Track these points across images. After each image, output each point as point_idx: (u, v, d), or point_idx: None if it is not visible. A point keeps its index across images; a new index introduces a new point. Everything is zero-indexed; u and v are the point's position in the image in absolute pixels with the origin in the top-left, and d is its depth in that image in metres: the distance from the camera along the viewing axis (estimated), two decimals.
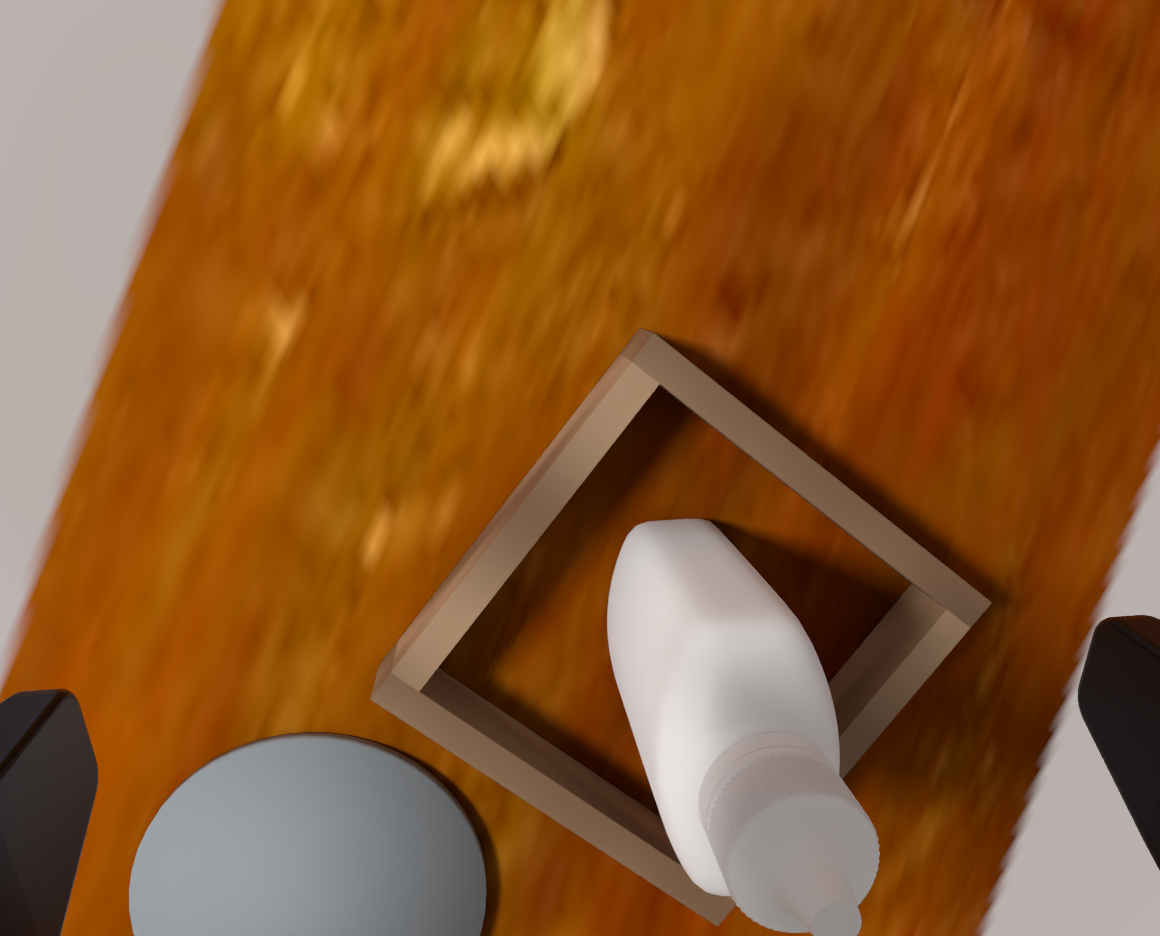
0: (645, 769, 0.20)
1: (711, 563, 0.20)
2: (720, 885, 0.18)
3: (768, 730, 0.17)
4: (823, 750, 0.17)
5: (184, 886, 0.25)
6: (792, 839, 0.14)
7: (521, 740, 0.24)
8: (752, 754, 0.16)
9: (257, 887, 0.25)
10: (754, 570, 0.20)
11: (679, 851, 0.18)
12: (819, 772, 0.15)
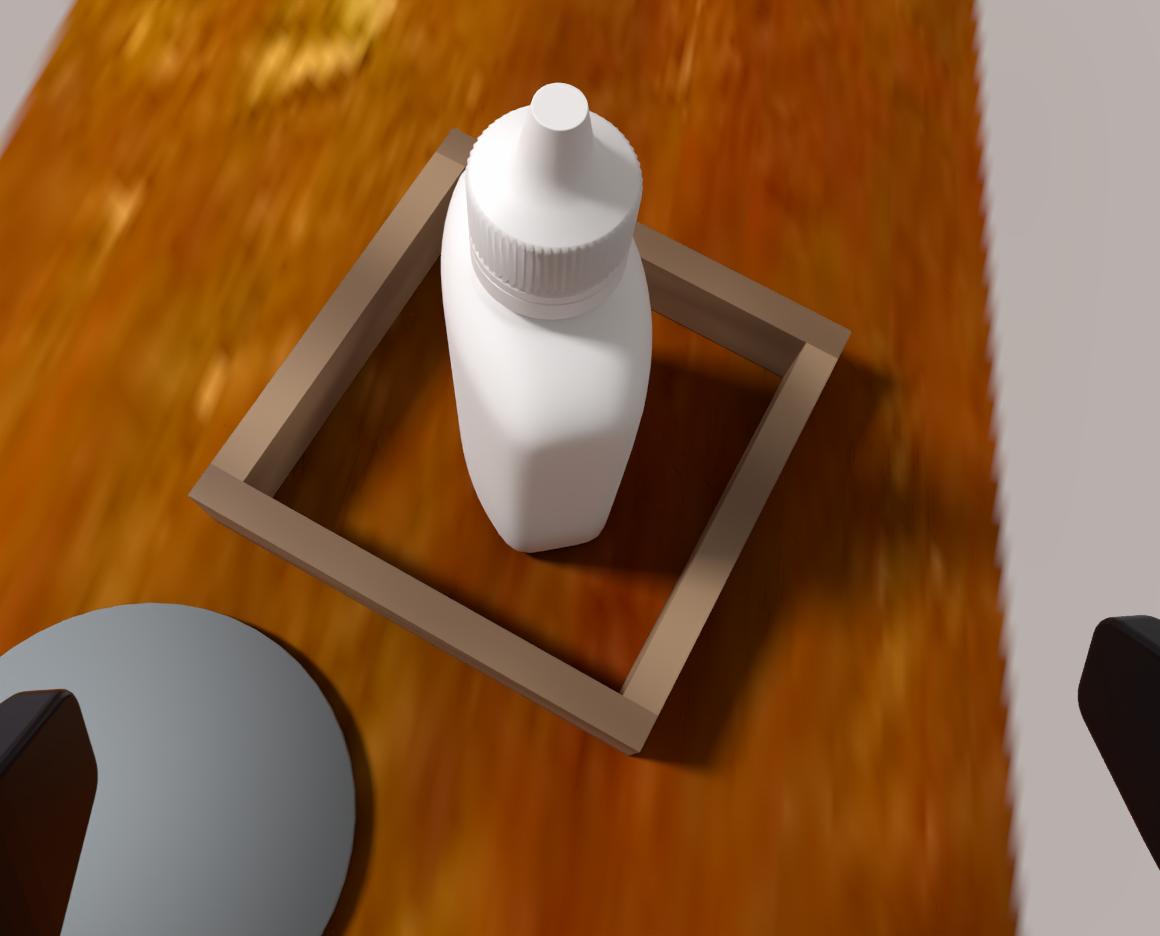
0: (466, 411, 0.18)
1: None
2: (531, 400, 0.15)
3: None
4: None
5: None
6: None
7: None
8: None
9: None
10: None
11: (481, 383, 0.15)
12: None
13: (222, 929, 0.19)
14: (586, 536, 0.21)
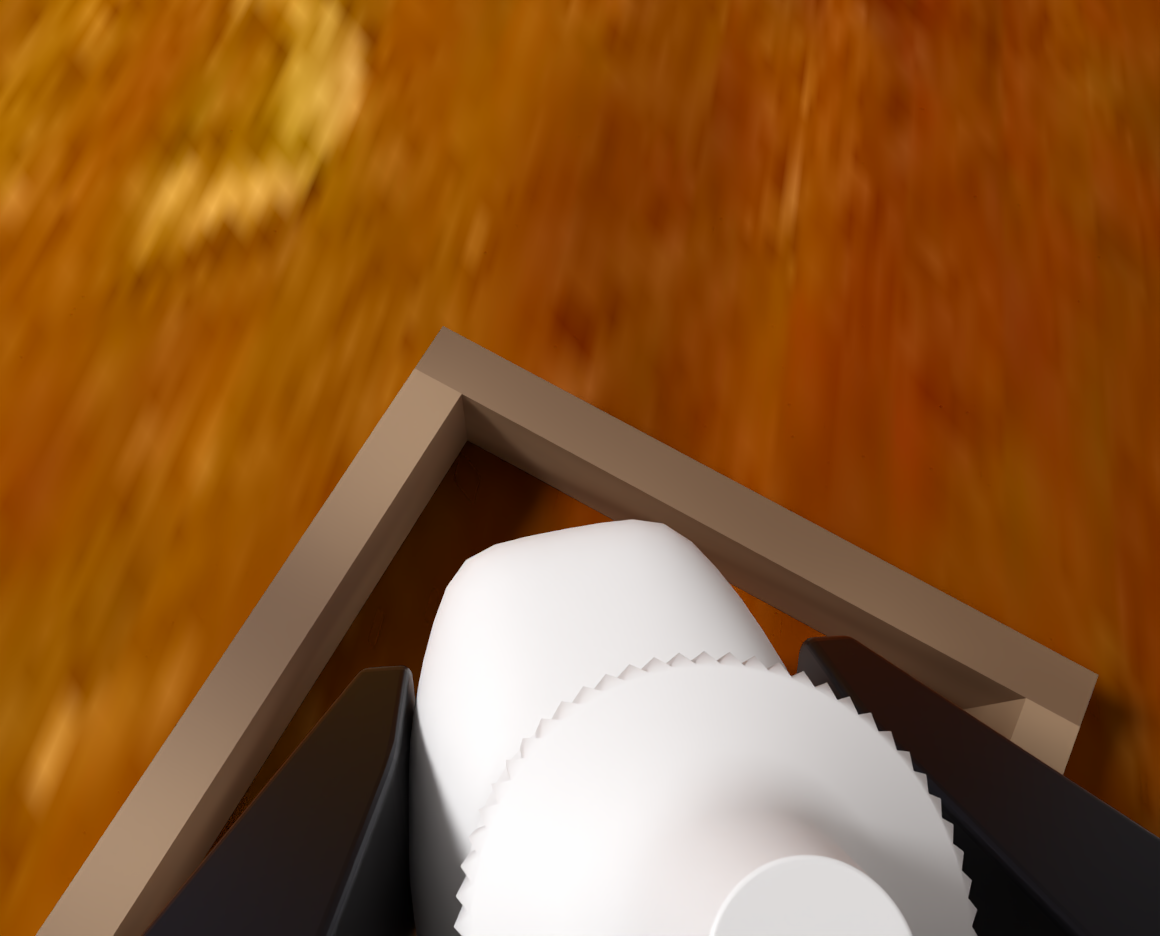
0: None
1: None
2: None
3: None
4: None
5: None
6: (640, 787, 0.04)
7: None
8: None
9: None
10: None
11: None
12: None
13: None
14: None
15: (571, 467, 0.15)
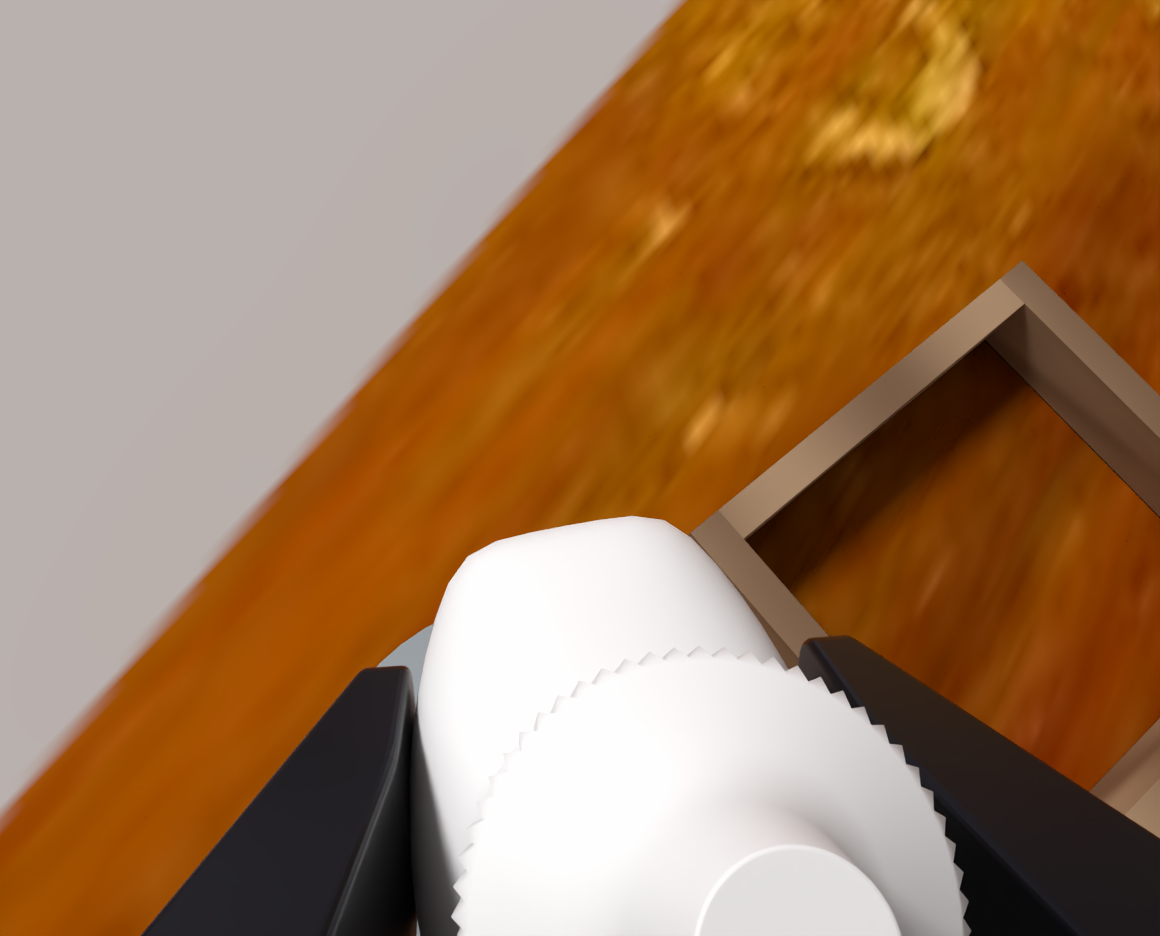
0: None
1: None
2: None
3: None
4: None
5: None
6: (635, 779, 0.04)
7: None
8: None
9: None
10: None
11: None
12: None
13: None
14: None
15: (1068, 372, 0.23)
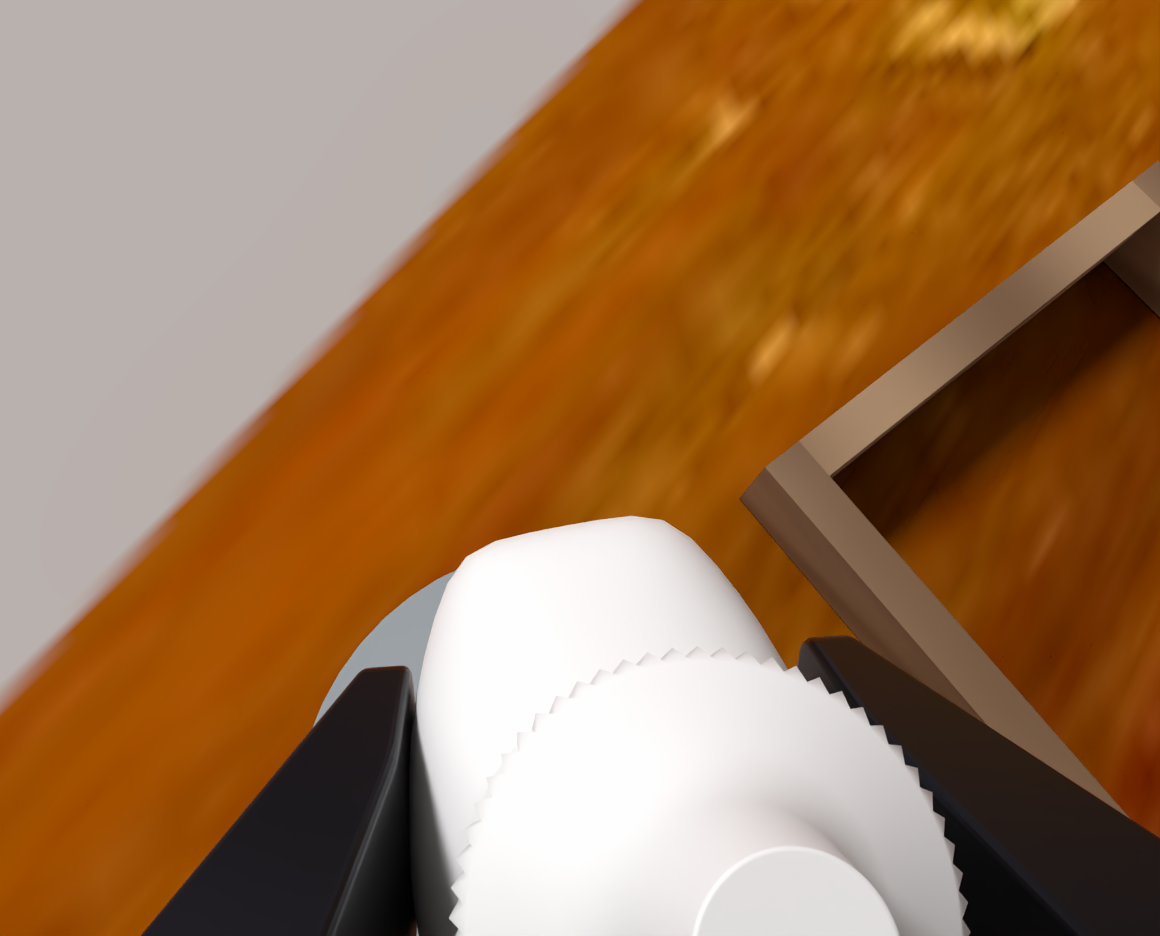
0: None
1: None
2: None
3: None
4: None
5: None
6: (633, 781, 0.04)
7: None
8: None
9: None
10: None
11: None
12: None
13: None
14: None
15: None
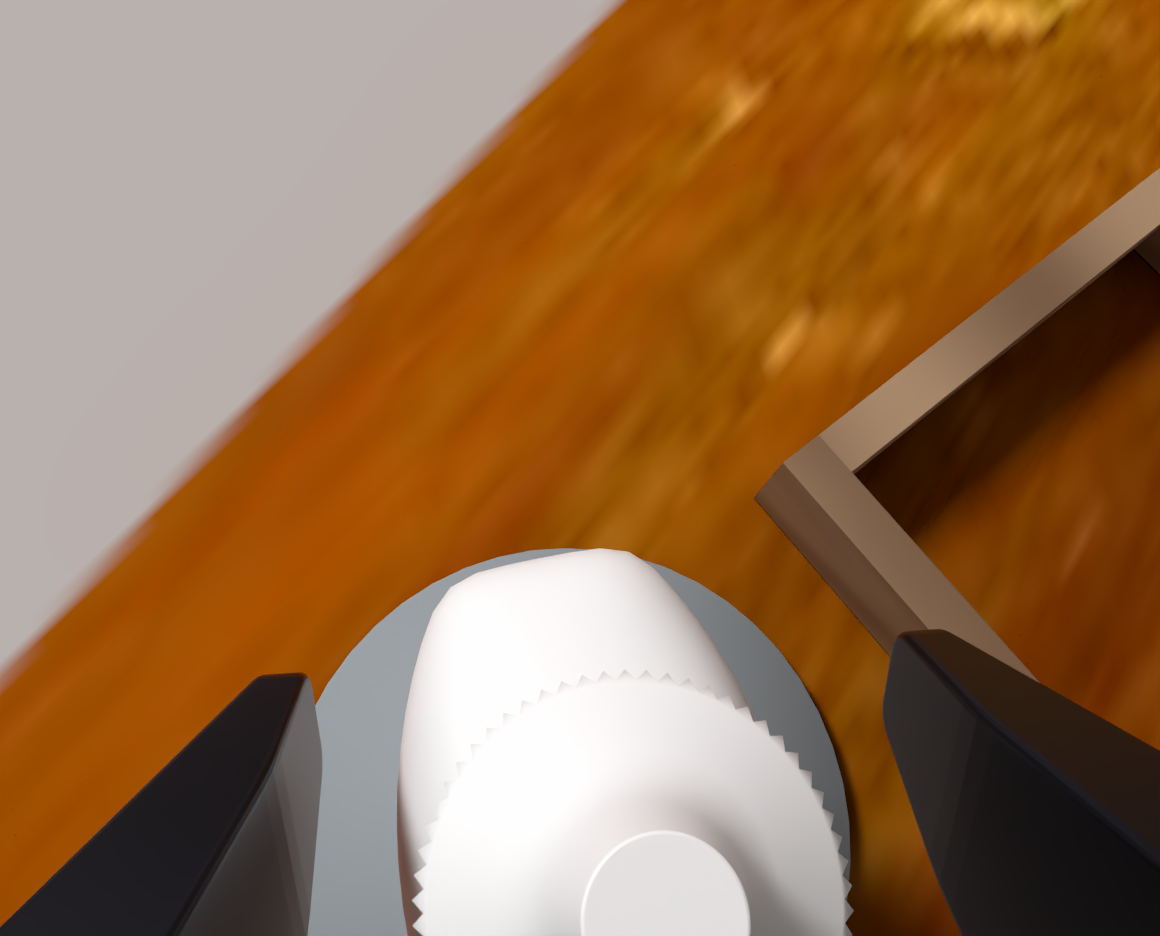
0: None
1: None
2: None
3: None
4: None
5: (390, 737, 0.16)
6: (562, 783, 0.05)
7: None
8: None
9: None
10: None
11: None
12: None
13: None
14: None
15: None
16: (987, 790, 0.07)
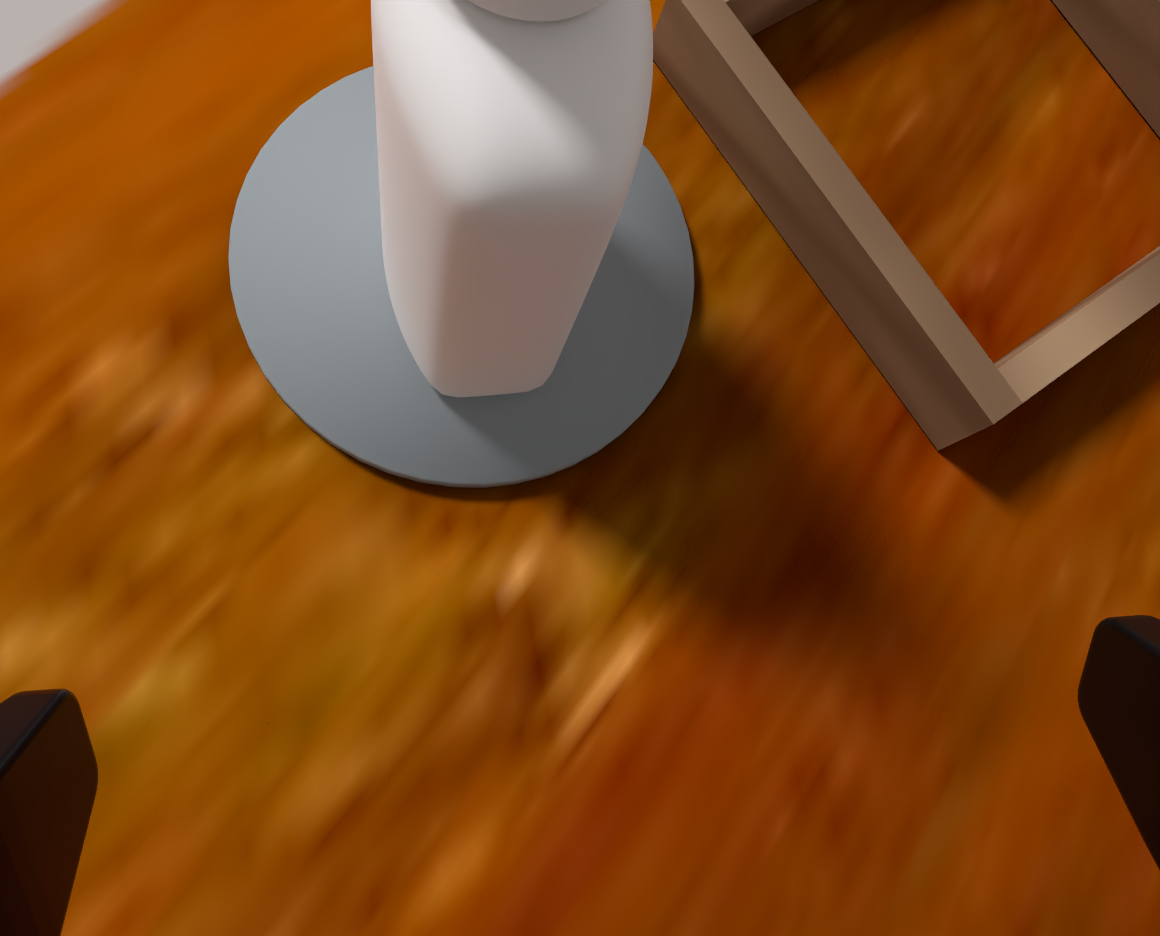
0: (392, 178, 0.13)
1: None
2: (484, 139, 0.11)
3: None
4: None
5: (329, 173, 0.19)
6: None
7: None
8: None
9: None
10: None
11: (416, 113, 0.11)
12: None
13: None
14: (529, 381, 0.17)
15: None
16: None
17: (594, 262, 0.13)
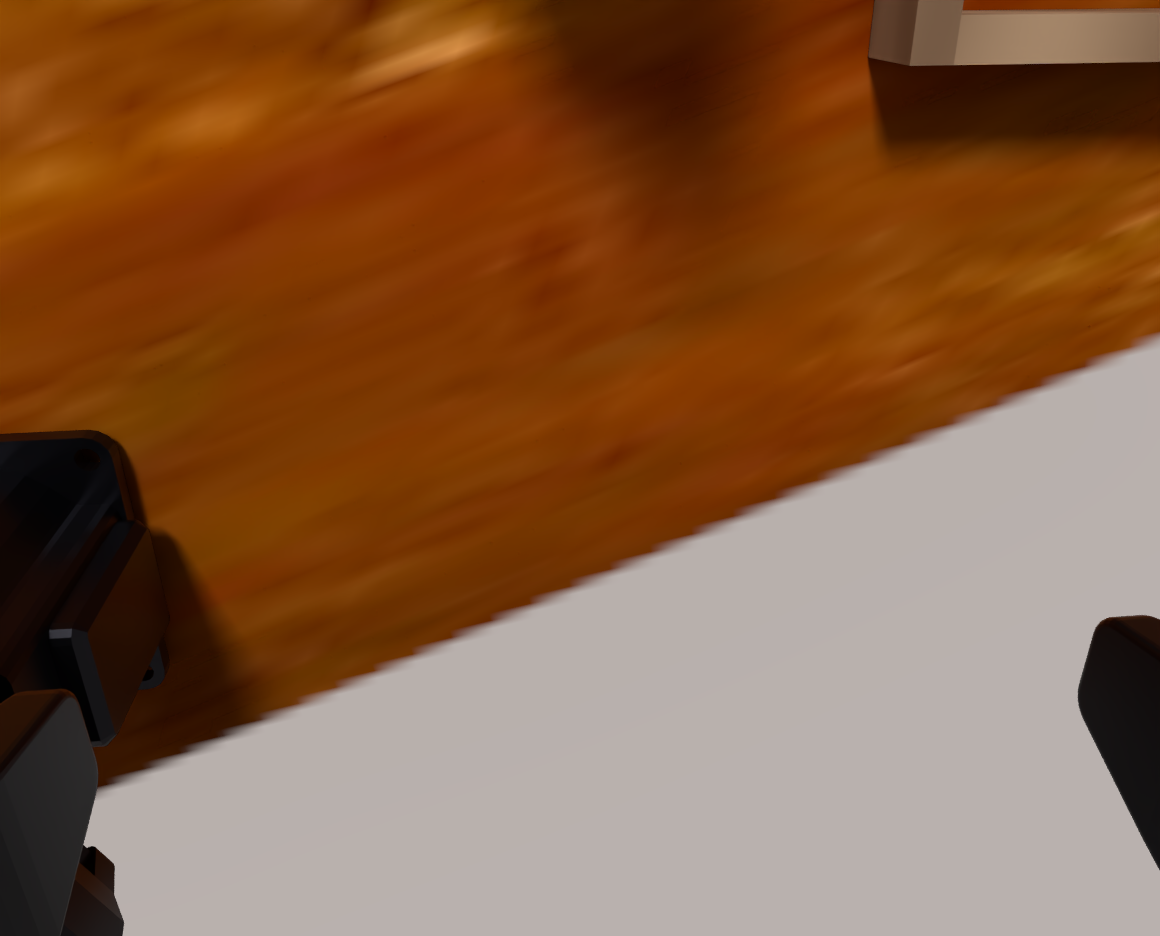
0: None
1: None
2: None
3: None
4: None
5: None
6: None
7: None
8: None
9: None
10: None
11: None
12: None
13: None
14: None
15: None
16: None
17: None
